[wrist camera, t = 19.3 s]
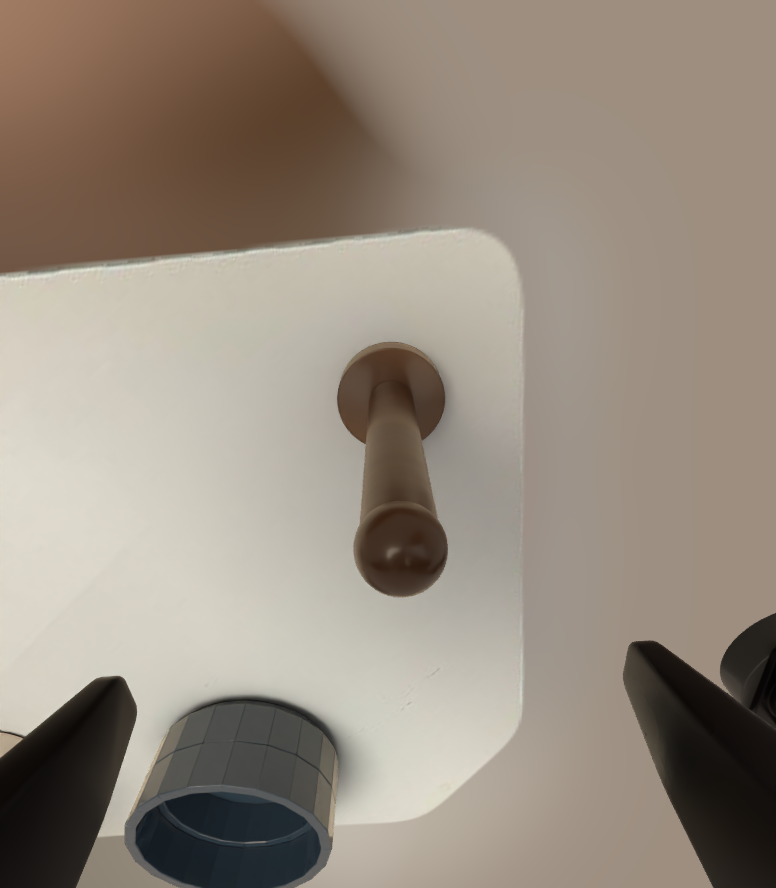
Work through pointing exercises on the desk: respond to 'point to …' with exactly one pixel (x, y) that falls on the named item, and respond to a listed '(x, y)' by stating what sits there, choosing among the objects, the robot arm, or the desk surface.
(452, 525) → the desk surface
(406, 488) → the stirring stick
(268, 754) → the bowl
